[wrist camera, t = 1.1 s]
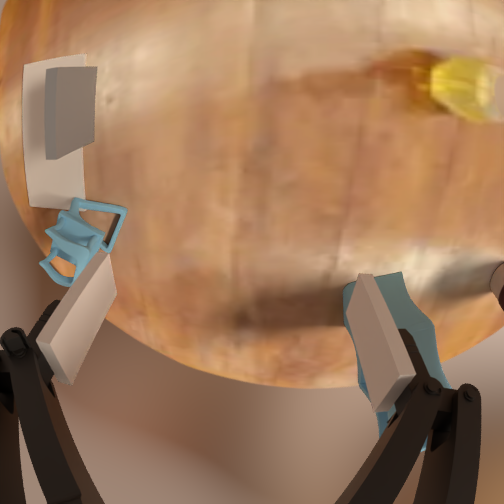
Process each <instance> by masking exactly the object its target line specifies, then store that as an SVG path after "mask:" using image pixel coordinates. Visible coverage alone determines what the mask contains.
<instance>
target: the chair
mask: <svg viewBox="0 0 504 504" xmlns="http://www.w3.org/2000/svg"><path fill="white" fill-rule="evenodd" d="M79 208H82V209H88V210H95V211H103V212H111V213H118V214H120V215H121V216H120V219H119V221H118V223H117V226H116V228H115V231H114V233H113V235H112V238H111V240H110V243H109V245H107V244H106V243H105V242H104V241H103V238H104V235H105V232H103V231H101V230H99V229H97V228H95V227H93V226H91V225H90V224H88V223H87V222H86V221H84V220H83V219H82V218H81V217H80V214H79ZM126 214H127V209H126V208H125V207H121V206H117V205H112V204H106V203H100V202H94V201H88V200H84V199H80V198H76V197H75V198H74V199H73V200H72V202H71V206H70V209H69V211H64V210H61V211H60V212H59V215H58V219H57V224H56V225H55V226H52V227H50V228H48V229H45V233H46V234H48V235H49V236H50V237H51V238H52V240H53V241H52V246H51V250H50V252H51V253H50V254H49V255H48V256H47V258H46V259H44V260H42V261H41V262H39V264H40V265H41V266H42V267H43V268H44V269H45V270H46V272H47V273H48V274H49V276H50V277H51V278H52V279H53V280H54V281H55V282H56V283H58V284H60V285H63V286H67V287H71V286H72V285H73V283H74V282H75V280H76V279H77V278H78V276H79V275H80V274H81V272H82V271H83V270H84V268H85V267H86V266H87V264H88V263H89V262H90V260H91V259H92V258H93V256H94V255H95V254H96V252H98V251H99V248H101V249H102V250H104V251H105V252H107V253H110V252H111V251H112V248H113V246H114V243H115V241H116V238H117V236H118V233H119V231H120V228H121V226H122V223H123V221H124V219H125V216H126ZM56 255H57V256H58V257H60V258H63V259H65V260H67V261H68V262H70V263H72V264H74V265H76V270H75V274H74V277H66V276H63V275H60V274H59V273H57V272H56V271H55V270H54V269H53V268H52V266H51V265H50V263H49V262H50V261H51V260H52V259H53V258H54V257H55V256H56Z"/></svg>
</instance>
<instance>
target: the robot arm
mask: <svg viewBox="0 0 504 504" xmlns="http://www.w3.org/2000/svg"><path fill="white" fill-rule="evenodd" d="M116 295H117V291H116V286H115V281H114V276H113V271H112V266H111V261H110V255H109V253H103V252H96V254H95V255H94V256H93V258H92V259H91V260H90V262H89V263H88V264H87V266H86V267H85V268H84V270H83V271H82V272H81V274H80V275H79V276H78V278H77V279H76V280H75V282H74V283H73V285H72V286H71V287H70V289H69V290H68V292H67V293H66V295H65V296H64V297H63V299H62V300H61V301H60V300H55V301H53V302H52V303H51V304H50V305H48V306H47V308H46V309H45V311H44V312H43V315H41V317H40V318H39V321H37V323H36V324H35V326H34V327H33V329H32V330H31V332H30V333H29V335H28V336H27V337H26V335H25V333H24V331H23V330H22V329H21V328H17V327H14V328H10V329H8V330H7V331H5V332H4V333H3V335H2V336H1V338H0V344H1V346H2V347H3V349H4V350H0V504H26V500H25V493H24V487H23V479H22V471H21V461H20V448H19V423H18V422H19V420H20V424H21V428H22V431H23V435H24V439H25V442H26V446H27V449H28V452H29V455H30V458H31V461H32V464H33V467H34V470H35V473H36V475H37V478H38V481H39V483H40V486H41V489H42V491H43V493H44V496H45V498H46V501H47V504H105V503H104V502H103V500H102V498H101V496H100V494H99V493H98V491H97V489H96V487H95V485H94V483H93V481H92V479H91V477H90V475H89V473H88V471H87V469H86V467H85V465H84V463H83V461H82V458H81V456H80V454H79V452H78V450H77V447H76V445H75V443H74V440H73V438H72V435H71V433H70V430H69V428H68V425H67V423H66V420H65V418H64V415H63V412H62V409H61V406H60V403H59V400H58V398H57V394H56V391H55V388H54V385H53V383H52V381H51V379H52V377H53V375H55V376H56V378H57V380H58V381H59V382H62V383H65V384H68V385H72V384H73V382H74V380H75V378H76V375H77V373H78V371H79V369H80V366H81V364H82V362H83V360H84V358H85V356H86V354H87V352H88V350H89V348H90V345H91V344H92V341H93V339H94V337H95V335H96V333H97V331H98V329H99V327H100V325H101V324H102V322H103V319H104V318H105V316H106V314H107V312H108V310H109V308H110V306H111V304H112V303H113V301H114V299H115V297H116ZM346 315H347V319H348V322H349V325H350V328H351V332H352V335H353V339H354V342H355V345H356V349H357V352H358V356H359V359H360V363H361V367H362V370H363V374H364V378H365V381H366V385H367V389H368V393H369V397H370V401H371V405H372V408H373V412H384V411H389V410H390V409H391V407H392V406H393V405H395V408H396V412H395V413H394V414H393V415H392V417H391V418H390V419H389V420H388V421H387V423H388V425H387V427H386V428H385V430H384V432H383V434H382V435H381V437H380V439H379V440H378V442H377V443H376V445H375V447H374V448H373V450H372V451H371V453H370V455H369V456H368V458H367V459H366V461H365V462H364V464H363V465H362V467H361V468H360V470H359V471H358V473H357V474H356V475H355V477H354V478H353V480H352V481H351V483H350V484H349V485H348V487H347V488H346V489H345V491H344V492H343V493H342V495H341V496H340V497H339V499H338V500H337V501H336V502H335V504H393V502H394V500H395V499H396V497H397V495H398V494H399V492H400V490H401V488H402V487H403V485H404V483H405V481H406V479H407V478H408V476H409V474H410V472H411V470H412V468H413V466H414V464H415V462H416V460H417V458H418V456H419V454H420V452H421V449H422V447H423V445H424V443H425V441H426V438H427V436H428V438H427V444H426V450H425V456H424V461H423V466H422V470H421V474H420V479H419V483H418V487H417V491H416V495H415V499H414V503H413V504H474V501H475V494H476V487H477V479H478V469H479V458H480V445H481V396H480V393H479V391H478V389H477V388H476V387H475V386H473V385H471V384H466V383H465V384H463V385H461V386H460V388H459V389H458V390H454V389H449V388H444V387H443V385H442V384H441V383H440V381H438V380H437V379H436V378H433V377H430V375H429V372H428V370H427V368H426V365H425V363H424V361H423V358H422V356H421V354H420V353H419V349H418V347H417V346H416V343H415V340H414V338H413V336H412V335H411V334H410V333H409V332H408V331H407V330H406V329H397V327H396V324H395V322H394V320H393V318H392V315H391V313H390V311H389V309H388V307H387V304H386V302H385V300H384V298H383V296H382V294H381V292H380V290H379V288H378V285H377V283H376V281H375V279H374V277H373V275H372V274H360V273H359V275H358V278H357V281H356V284H355V287H354V290H353V293H352V296H351V299H350V302H349V305H348V308H347V311H346Z"/></svg>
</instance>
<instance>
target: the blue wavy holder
mask: <svg viewBox="0 0 504 504" xmlns="http://www.w3.org/2000/svg"><path fill="white" fill-rule="evenodd" d="M374 279H375V281H376V283H377V285H378V288H379V290H380V292H381V294H382V296H383V298H384V300H385V302H386V304H387V307H388V309H389V311H390V313H391V315H392V318H393V320H394V322H395V324H396V327H397V329H406V330H407V331H408V332H409V333H410V334H411V335H412V336H413V338H414V340H415V343H416V346H417V347H418V349H419V353H420V354H421V356H422V358H423V361H424V363H425V365H426V368H427V370H428V372H429V375H430V377H433V378H436V379H437V380H438V381H440V383H441V384H442V385H443V387H444V388H449V389H452V388H451V386H450V384H449V383H448V381H447V379H446V377H445V375H444V373H443V371H442V367H441V364H440V360H439V356H438V351H437V344H436V336H435V326H434V325H433V323H432V321H431V320H430V319H429V318H428V317H427V316H426V315H425V314H423V313H422V312H421V311H420V310H419V309H418V307H417V306H416V305H415V304H414V303H413V301H412V300H411V298H410V296H409V294H408V292H407V289H406V286H405V283H404V279H403V275H402V272H398V273H394V274H389V275H384V276H379V277H374ZM355 284H356V281H355V282H352V283H349V284H348V285H347V286H346V287H345V288H344V289H343V315H344V325H345V327H346V328H347V330H348V332H349V334H350V335H351V338H352V340H353V343H354V346H355V350H356V356H357V365H358V383H359V387H360V389H361V390H362V391H363V392H364V393H365V395H366V396H367V398H368V399H369V401H370V397H369V393H368V389H367V385H366V381H365V378H364V374H363V370H362V367H361V363H360V359H359V356H358V352H357V349H356V345H355V342H354V339H353V335H352V332H351V328H350V325H349V322H348V319H347V315H346V311H347V308H348V305H349V302H350V299H351V296H352V293H353V290H354V287H355ZM370 402H371V401H370ZM395 412H396V408H395V405H393V406H392V407H391V409H390V410H389V411H384V412H375V413H376V416H377V420H378V426H379V439H380V437H381V435H382V434H383V432H384V430H385V428H386V427H387V425H388V423H387V421H388V420H389V419H390V418H391V417H392V415H393V414H394V413H395ZM427 438H428V436H427ZM427 438H426V441H425V443H424V445H423V447H422V449H421V451H424V450H426V444H427Z"/></svg>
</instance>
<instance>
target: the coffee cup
mask: <svg viewBox="0 0 504 504" xmlns="http://www.w3.org/2000/svg"><path fill="white" fill-rule="evenodd" d="M490 288H491V291H492V292H493V294H494V295H495V296H496V298H497V299H498V301H499V304H500V306H501V308H502V309H503V311H504V263H503V264H501V265H500V266H499V267H498V268H497V269H496V271H495V272H494V274H493V276H492V278H491V282H490Z"/></svg>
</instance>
